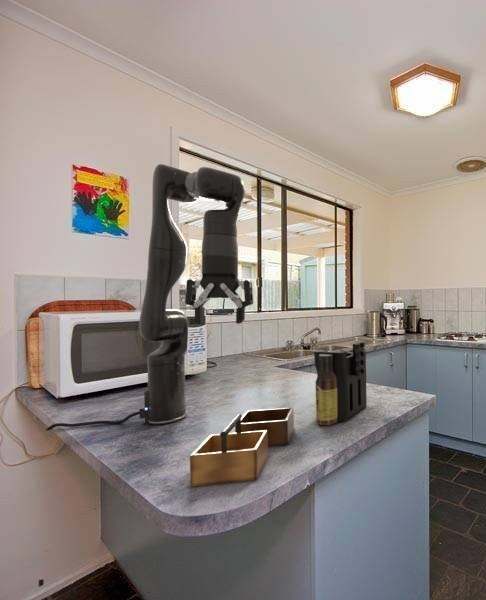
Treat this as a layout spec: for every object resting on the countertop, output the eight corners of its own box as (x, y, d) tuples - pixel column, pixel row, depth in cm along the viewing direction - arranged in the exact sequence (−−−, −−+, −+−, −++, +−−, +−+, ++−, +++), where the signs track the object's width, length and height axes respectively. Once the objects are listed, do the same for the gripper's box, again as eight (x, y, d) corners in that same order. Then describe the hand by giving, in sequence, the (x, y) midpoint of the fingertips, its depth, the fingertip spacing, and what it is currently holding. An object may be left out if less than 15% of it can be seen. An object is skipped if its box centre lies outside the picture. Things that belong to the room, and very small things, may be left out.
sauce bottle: (319, 418, 98) (318, 352, 98) (340, 418, 97) (339, 352, 97) (313, 427, 91) (312, 356, 91) (335, 427, 91) (334, 355, 91)
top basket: (190, 486, 63) (189, 434, 63) (210, 461, 72) (210, 416, 72) (256, 479, 65) (256, 428, 65) (268, 456, 75) (267, 411, 74)
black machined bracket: (313, 421, 96) (312, 346, 96) (347, 400, 115) (346, 337, 115) (349, 425, 92) (347, 347, 92) (378, 403, 111) (377, 338, 111)
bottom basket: (235, 449, 78) (235, 424, 78) (247, 432, 88) (247, 410, 88) (287, 444, 80) (287, 420, 80) (293, 429, 90) (293, 407, 90)
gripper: (256, 258, 83) (256, 322, 83) (195, 256, 80) (195, 322, 81) (247, 254, 75) (246, 324, 75) (179, 252, 73) (179, 325, 73)
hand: (220, 323), depth 78 cm, fingers open, 8 cm apart
